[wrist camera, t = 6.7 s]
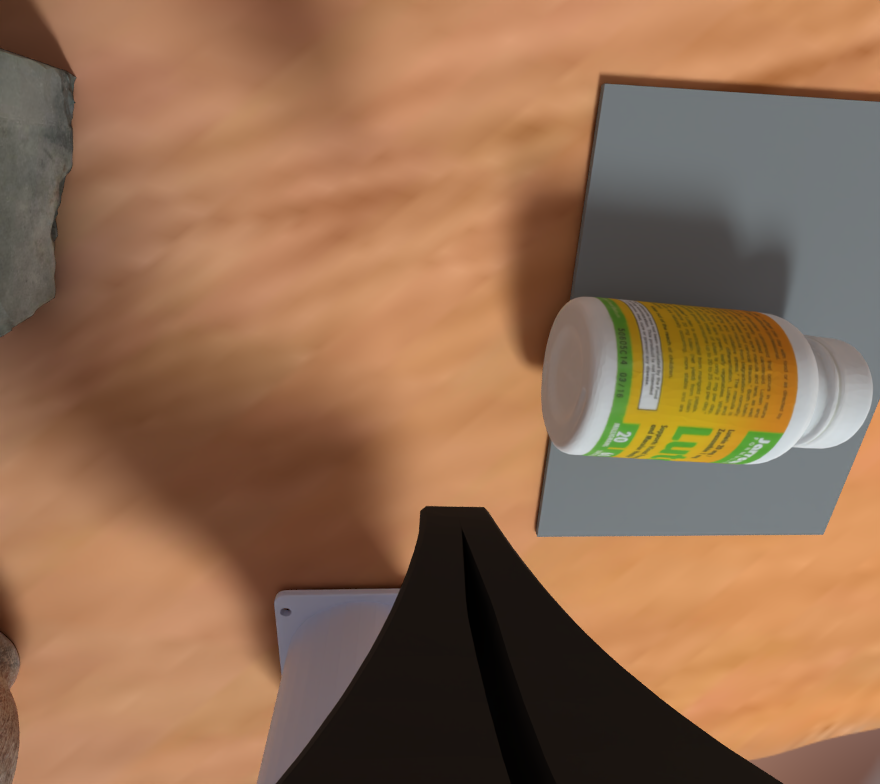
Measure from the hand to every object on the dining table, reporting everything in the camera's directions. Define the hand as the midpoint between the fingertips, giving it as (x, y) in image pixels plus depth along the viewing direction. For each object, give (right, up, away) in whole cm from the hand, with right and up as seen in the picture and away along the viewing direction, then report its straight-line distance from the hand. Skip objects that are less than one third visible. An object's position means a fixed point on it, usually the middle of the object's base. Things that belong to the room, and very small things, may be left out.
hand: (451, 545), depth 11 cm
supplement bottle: (+4, +4, +7) cm, 9 cm away
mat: (+12, +5, +10) cm, 16 cm away
